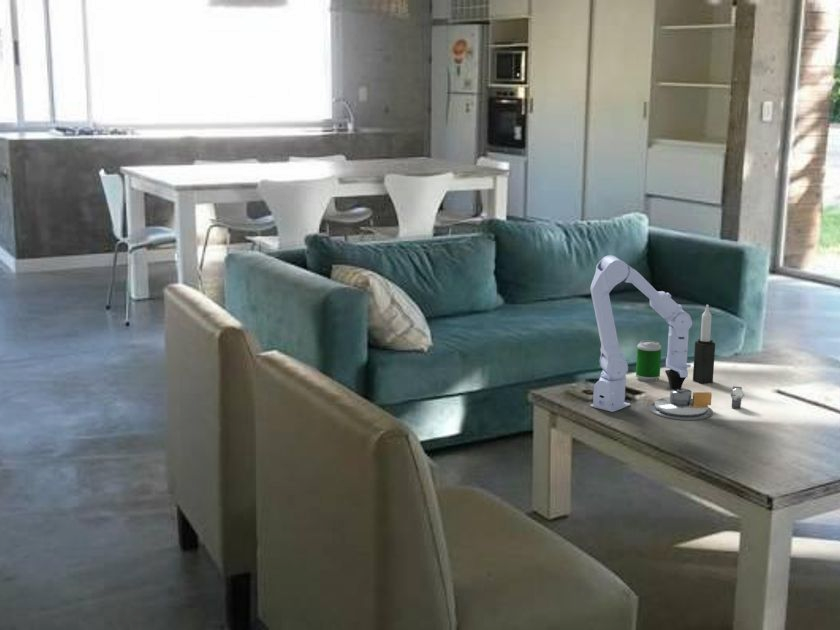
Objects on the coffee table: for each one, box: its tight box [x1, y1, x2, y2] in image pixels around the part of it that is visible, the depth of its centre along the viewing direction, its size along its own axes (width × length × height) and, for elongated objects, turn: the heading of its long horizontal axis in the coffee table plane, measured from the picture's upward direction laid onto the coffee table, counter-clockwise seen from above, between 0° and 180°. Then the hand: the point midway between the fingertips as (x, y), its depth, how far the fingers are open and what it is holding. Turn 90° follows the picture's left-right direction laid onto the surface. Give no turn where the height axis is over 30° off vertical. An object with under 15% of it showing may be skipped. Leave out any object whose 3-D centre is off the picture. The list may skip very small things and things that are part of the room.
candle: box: [692, 304, 716, 385], centre depth 333 cm, size 5×5×25 cm
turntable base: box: [648, 402, 714, 421], centre depth 306 cm, size 18×18×1 cm
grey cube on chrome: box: [730, 385, 745, 410], centre depth 308 cm, size 3×4×6 cm
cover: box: [669, 387, 693, 406], centre depth 307 cm, size 6×6×4 cm
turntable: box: [654, 391, 713, 417], centre depth 306 cm, size 16×15×5 cm
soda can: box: [635, 340, 662, 383], centre depth 337 cm, size 8×8×12 cm
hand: (675, 394), depth 311 cm, fingers closed
